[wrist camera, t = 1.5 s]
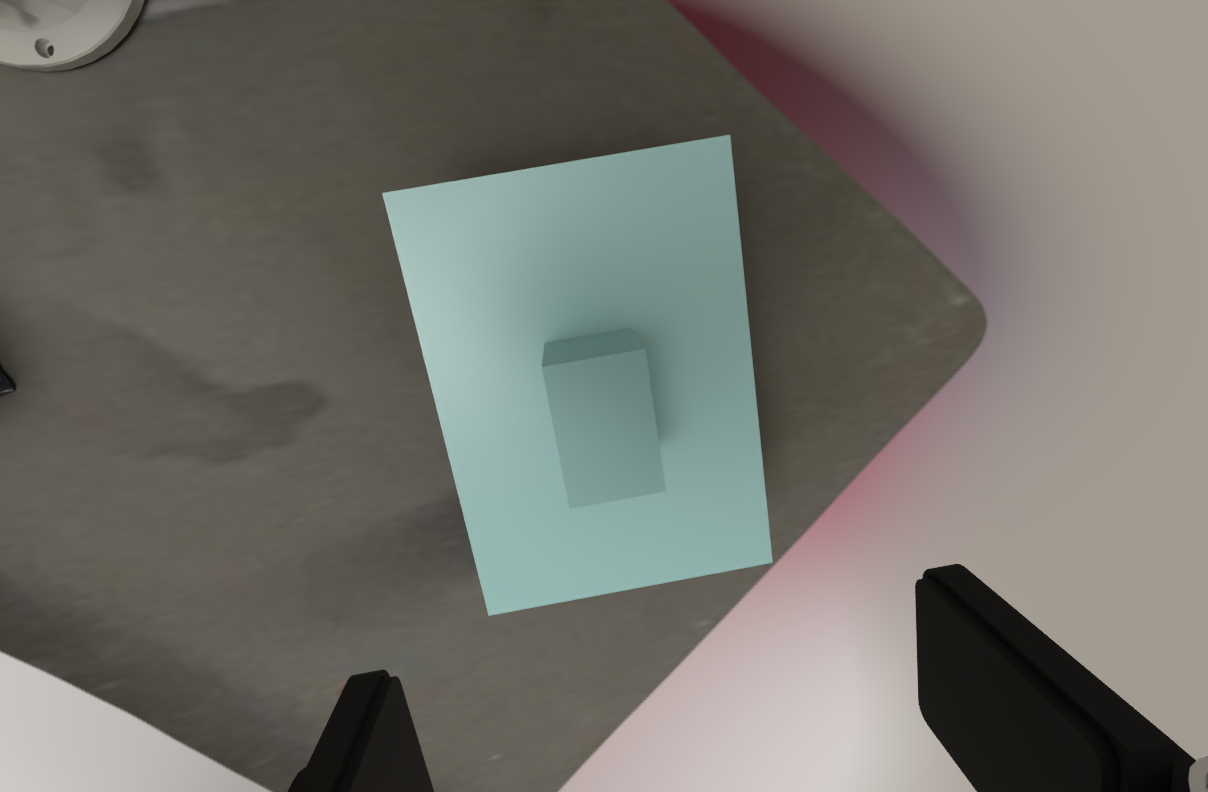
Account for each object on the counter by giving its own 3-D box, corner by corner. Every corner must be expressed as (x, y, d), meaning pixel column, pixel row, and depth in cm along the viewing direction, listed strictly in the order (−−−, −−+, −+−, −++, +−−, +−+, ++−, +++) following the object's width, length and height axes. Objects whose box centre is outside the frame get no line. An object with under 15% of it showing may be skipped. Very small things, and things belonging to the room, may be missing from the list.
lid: (389, 194, 27) (341, 185, 21) (722, 138, 27) (769, 113, 21) (491, 602, 33) (476, 685, 27) (765, 550, 33) (810, 621, 27)
